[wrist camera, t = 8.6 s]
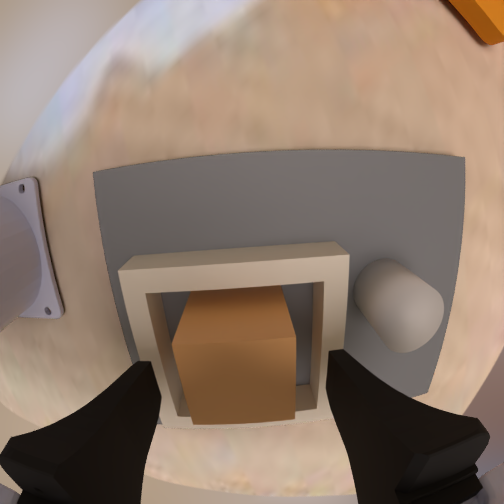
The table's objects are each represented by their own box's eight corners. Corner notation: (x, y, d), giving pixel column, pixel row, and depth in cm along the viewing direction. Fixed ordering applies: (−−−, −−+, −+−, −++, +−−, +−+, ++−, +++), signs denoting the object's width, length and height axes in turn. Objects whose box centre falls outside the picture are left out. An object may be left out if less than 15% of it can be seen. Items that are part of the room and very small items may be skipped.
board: (157, 413, 17) (143, 465, 13) (101, 171, 13) (49, 177, 9) (421, 384, 17) (449, 426, 13) (454, 156, 13) (511, 161, 9)
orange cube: (203, 360, 15) (193, 424, 10) (191, 289, 14) (171, 344, 9) (282, 355, 15) (295, 419, 11) (279, 283, 14) (296, 336, 9)
